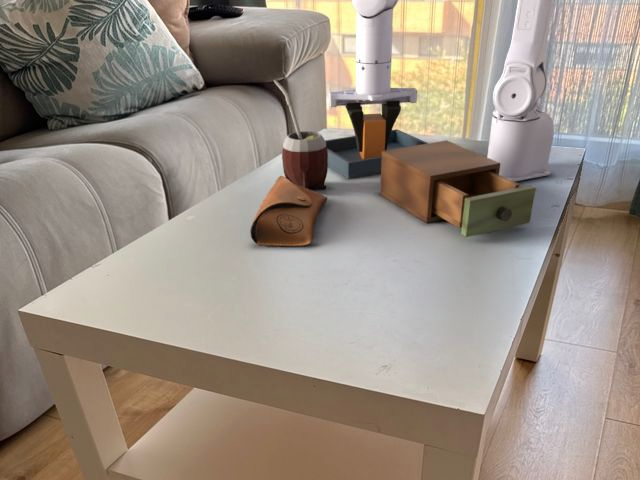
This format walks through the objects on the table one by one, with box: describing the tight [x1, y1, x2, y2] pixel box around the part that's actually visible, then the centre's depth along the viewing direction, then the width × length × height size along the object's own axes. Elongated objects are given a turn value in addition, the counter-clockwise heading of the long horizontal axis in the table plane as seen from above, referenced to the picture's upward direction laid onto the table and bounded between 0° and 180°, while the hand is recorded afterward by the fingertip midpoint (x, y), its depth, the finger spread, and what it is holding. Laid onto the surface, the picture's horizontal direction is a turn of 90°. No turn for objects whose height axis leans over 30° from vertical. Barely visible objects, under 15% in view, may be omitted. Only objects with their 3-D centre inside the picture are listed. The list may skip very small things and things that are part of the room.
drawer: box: [432, 170, 537, 238], centre depth 86 cm, size 14×10×5 cm
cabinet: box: [379, 140, 500, 224], centre depth 93 cm, size 13×11×6 cm
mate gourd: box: [273, 78, 329, 191], centre depth 96 cm, size 8×8×15 cm
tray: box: [324, 128, 429, 180], centre depth 111 cm, size 17×14×2 cm
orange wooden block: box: [360, 112, 386, 159], centre depth 109 cm, size 4×5×6 cm
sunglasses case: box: [249, 175, 328, 248], centre depth 89 cm, size 18×7×7 cm
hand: (371, 149), depth 110 cm, fingers closed on orange wooden block, 3 cm apart
